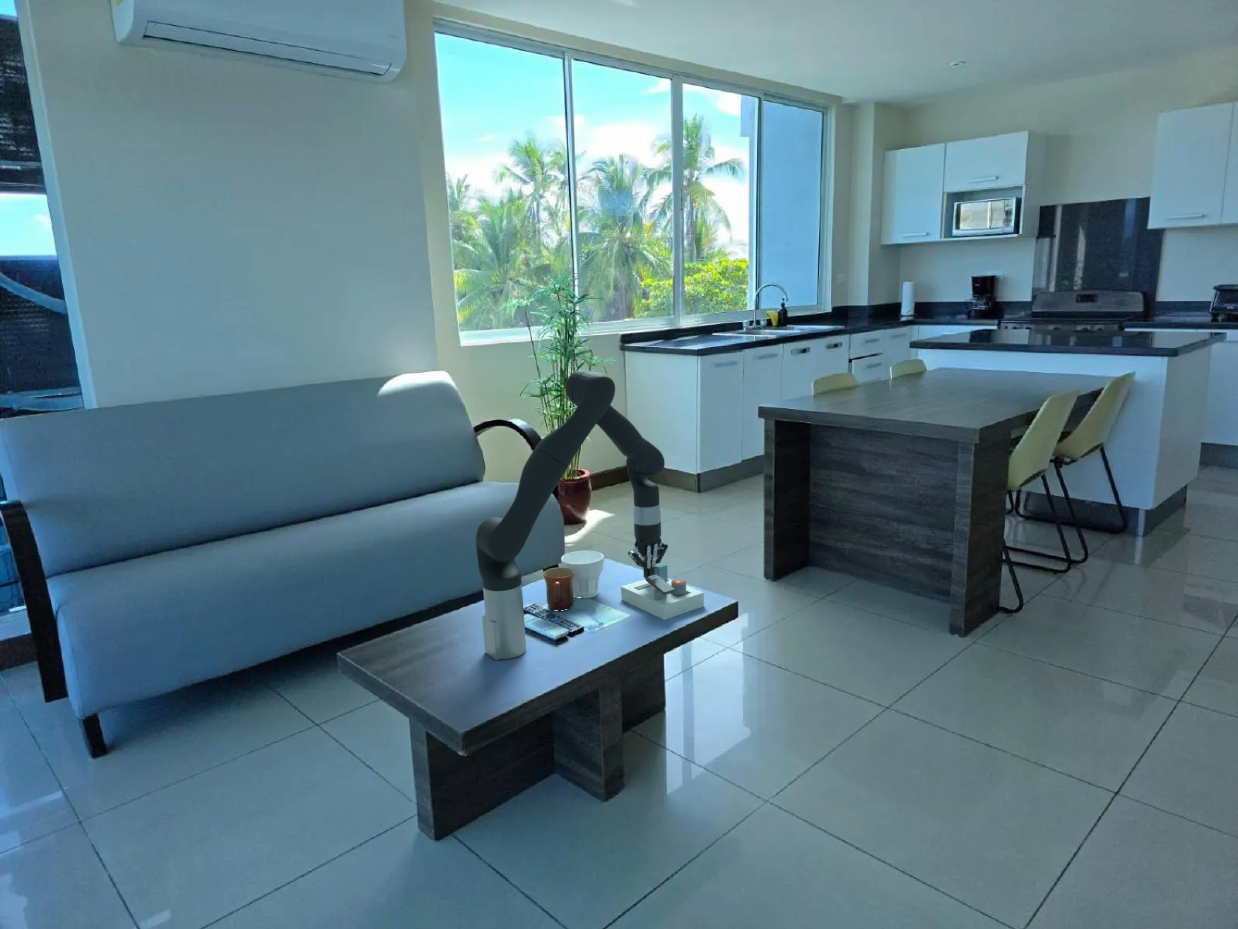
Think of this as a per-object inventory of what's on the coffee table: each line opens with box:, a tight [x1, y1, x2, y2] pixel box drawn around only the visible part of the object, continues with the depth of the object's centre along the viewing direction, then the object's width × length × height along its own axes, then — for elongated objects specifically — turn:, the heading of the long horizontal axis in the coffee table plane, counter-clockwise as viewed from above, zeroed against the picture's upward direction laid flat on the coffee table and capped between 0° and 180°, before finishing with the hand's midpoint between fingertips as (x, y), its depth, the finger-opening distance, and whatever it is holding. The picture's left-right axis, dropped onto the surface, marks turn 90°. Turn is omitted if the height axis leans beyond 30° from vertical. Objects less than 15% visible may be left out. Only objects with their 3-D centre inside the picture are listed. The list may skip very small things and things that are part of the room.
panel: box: [620, 578, 705, 621], centre depth 219 cm, size 14×19×7 cm
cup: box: [560, 550, 605, 599], centre depth 228 cm, size 12×12×11 cm
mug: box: [542, 566, 575, 612], centre depth 217 cm, size 12×9×10 cm
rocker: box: [646, 574, 675, 595], centre depth 211 cm, size 4×8×1 cm, turn 36°
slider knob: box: [654, 562, 669, 581], centre depth 224 cm, size 3×3×4 cm
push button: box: [671, 578, 687, 597], centre depth 216 cm, size 4×4×5 cm
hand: (649, 579), depth 222 cm, fingers closed
